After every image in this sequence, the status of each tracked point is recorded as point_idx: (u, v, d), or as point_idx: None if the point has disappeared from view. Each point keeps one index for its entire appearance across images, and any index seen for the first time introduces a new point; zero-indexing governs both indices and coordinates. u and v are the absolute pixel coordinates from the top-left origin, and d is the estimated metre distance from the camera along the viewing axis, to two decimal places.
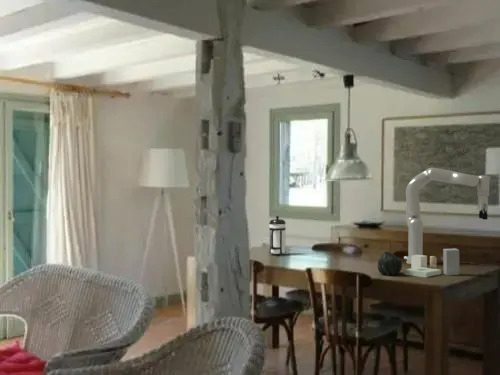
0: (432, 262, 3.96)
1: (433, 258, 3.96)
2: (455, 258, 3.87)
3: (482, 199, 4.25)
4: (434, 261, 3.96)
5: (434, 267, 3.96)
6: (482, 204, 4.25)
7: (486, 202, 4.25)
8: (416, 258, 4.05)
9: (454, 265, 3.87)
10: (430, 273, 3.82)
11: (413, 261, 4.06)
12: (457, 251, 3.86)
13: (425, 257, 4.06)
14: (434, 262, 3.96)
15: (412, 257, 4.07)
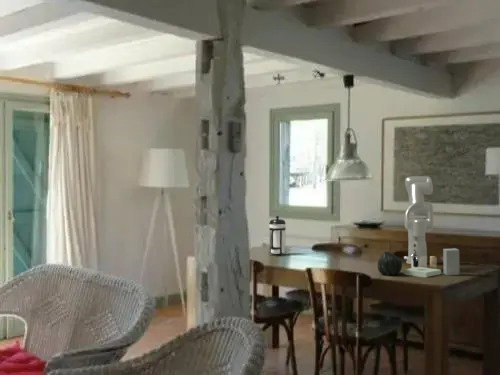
0: (432, 262, 3.96)
1: (433, 258, 3.96)
2: (455, 258, 3.87)
3: None
4: (434, 261, 3.96)
5: (434, 267, 3.96)
6: None
7: None
8: None
9: (454, 265, 3.87)
10: (430, 273, 3.82)
11: None
12: (457, 251, 3.86)
13: (425, 257, 4.06)
14: (434, 262, 3.96)
15: None
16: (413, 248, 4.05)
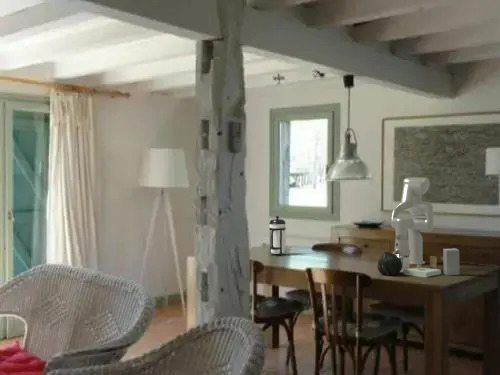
0: (432, 262, 3.96)
1: (433, 258, 3.96)
2: (455, 258, 3.87)
3: None
4: (434, 261, 3.96)
5: (434, 267, 3.96)
6: None
7: None
8: None
9: (454, 265, 3.87)
10: (430, 273, 3.82)
11: None
12: (457, 251, 3.86)
13: (408, 259, 4.02)
14: (434, 262, 3.96)
15: None
16: (395, 247, 4.00)
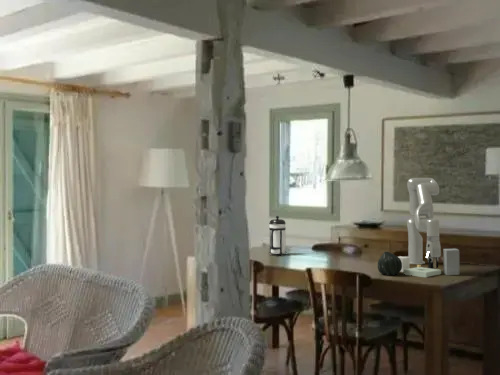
0: None
1: (433, 258, 3.96)
2: (455, 258, 3.87)
3: None
4: (434, 261, 3.96)
5: (434, 267, 3.96)
6: None
7: None
8: None
9: (454, 265, 3.87)
10: (430, 273, 3.82)
11: None
12: (457, 251, 3.86)
13: (408, 259, 4.02)
14: (434, 262, 3.96)
15: None
16: (427, 248, 3.95)
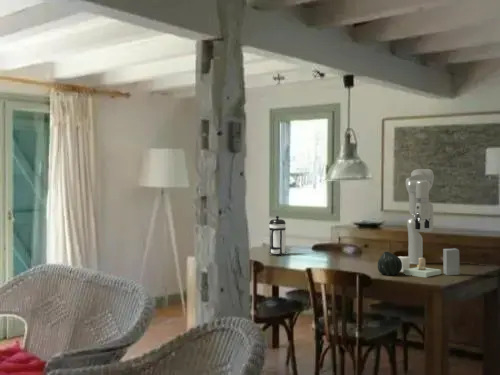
0: (421, 264, 3.89)
1: (422, 260, 3.89)
2: (455, 258, 3.87)
3: None
4: (423, 263, 3.89)
5: (423, 269, 3.89)
6: None
7: None
8: None
9: (454, 265, 3.87)
10: (430, 273, 3.82)
11: None
12: (457, 251, 3.86)
13: (408, 259, 4.02)
14: (423, 264, 3.89)
15: None
16: (416, 210, 3.87)
